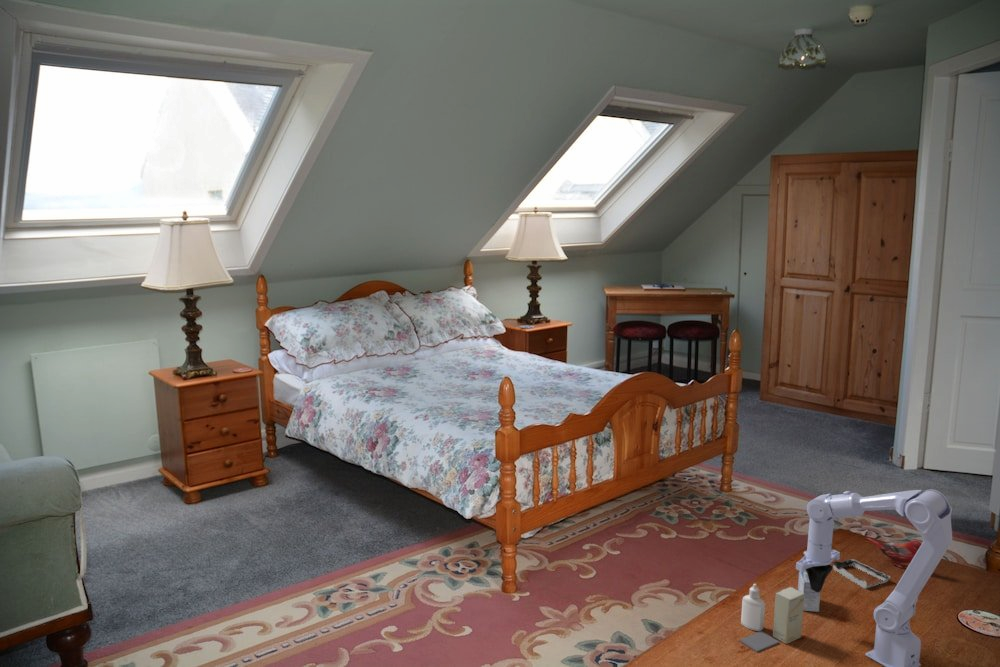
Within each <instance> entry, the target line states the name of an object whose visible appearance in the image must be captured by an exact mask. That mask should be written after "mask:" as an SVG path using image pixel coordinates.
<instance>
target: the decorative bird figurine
mask: <svg viewBox="0 0 1000 667" xmlns="http://www.w3.org/2000/svg"><path fill="white" fill-rule="evenodd" d="M864 538H865V539H866V540H867V541H869V542H871V544H873V545H875V546H876V547H877V548H878V549H879V550H880V551H881V552H882V554H883V555H885V556H886V557H888V558H889V559H890V560H892V561H893V562H891V563H890V564H891V565H893V566H895V565H896V566H895V567H899V568H901V569H905V570H906V569H907V568H908V567H905V566H904V565H901V564H908V563H909V564H910V563H911V561H912V559H913V558H914V556H915V554H916V553H917V551H918V549H919V548H920V546H921V544H922V542H920V541H919V540H912V541H911V540H910V541H908V542H906V543H898V542H896V543H895V542H884V543H880V542H879V541H876V540H874V539H872V538H869V537H867V536H864ZM899 563H900V564H899Z"/></svg>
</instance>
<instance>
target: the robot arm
mask: <svg viewBox="0 0 1000 667" xmlns="http://www.w3.org/2000/svg"><path fill="white" fill-rule="evenodd" d="M920 492H921V493H920ZM888 510H889V511H890V510H895V511H896V512H897V513H898V514H899V515H900V516H901V517H903V518H904V517H905V516H906V518H907V520H908V521H909V522H910V523H911V524H912V525H913V526H914V528H915V529H917V531H918V533H920V535H921V536H922V538H923V541H922V542H921V546H920V548H919V549H918V551H917V553H916V554H915V556H914V558H913V559H912V561H911V562H910V563H909V564H908V566H907V567H906V568H907V569H905V571H904V573H903V574H902V576H901V577H900V579H899V581H898V582H897V585H896V586H895V588H894V589H893V590H892V592H891V593H890V594H889V595H888V596H887V598H886V599H885V601H884V602H882V603H881V604H880V605H878V606H876V607H875V609H874V610H873V620H874V621H875V623H876V626H875V634H874V643H873V644H874V645H873V649H872V650H870V651H867V652H865V656H866V657H868V658H869V659H872V660H873V661H875V662H877V663H878V664H880V665H881V666H884V667H921V665H922V664H921V663H920V658H921V649H922V641H921V638H920V637H919V636H918V635H916V634H915V633H914V632H913V631H912V630H911V624H910V619H911V618H914V616H915V614H916V604H917V602H918V599H919V595H920V594H921V592H922V590H923V589H924V588H925V586H926V584H927V582H928V581H929V579H930V578H931V576H932V575H933V573H934V572H935V570H936V568H937V566H938V565H939V563H940V562H941V560H942V558H943V557H944V555H945V554H946V552H947V550H948V549H949V547H950V546H951V544H952V541H953V529H952V519H951V518H952V512H953V508H952V506H951V505H950V502H949V501H948V499H947V497H946V496H945V494H943V493H942V491H939V490H937V489H927V490H924V491H923V490H922V489H913V490H912V489H911V490H905V491H898V492H889V493H883V494H875V495H868V496H862V495H861V494H859V493H858V492H852V491H851V490H845V491H844V492H843V493H841V494H832V493H827V494H821V495H819V496H817V497H814V498H813V499H811V500H810V501H808V503H807V504H806V513H807V515H808V517H809V522H808V535H807V545H806V546H807V547H806V548H807V549H806V550H804V551H803V555H804V556H803V557H802V558H801V559H800V560H798V561H796V562H795V563H796V564H795V570H797V571H798V572H799V571H801V572H804V571H805V570H806V572H807V574H808V577H809V581H810V586H811V589H812V590H814V591H815V592H820V593H821V592H822V589H823V586H824V584H825V582H826V579H827V577H828V575H830V573H831V571H832V570H833V565H832V563H833V562H834V561H838V560H840V559H841V558H840V556H841V552H840V551H838V550H836V549H832V548H833V547H832V546H833V536H834V534H833V533H834V521H835V519H845V518H854V517H857V518H858V517H862V516H863V515H864V513H865V511H867V512H869V511H888Z"/></svg>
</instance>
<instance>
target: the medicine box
mask: <svg viewBox="0 0 1000 667" xmlns="http://www.w3.org/2000/svg"><path fill="white" fill-rule="evenodd" d="M797 582H798V583H797V590H798V591H800V592H802V593H804V605H803V612H804V611H805V612H813V613H814V612H816V613H819V612H820V602H821V601H820V600H821V591H820V592H815V591H814V590H812V589H811V586H810V581H809V577H808V574H807V572H806V570H805V571H804V572H801V571H799V570H798V581H797Z"/></svg>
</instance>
